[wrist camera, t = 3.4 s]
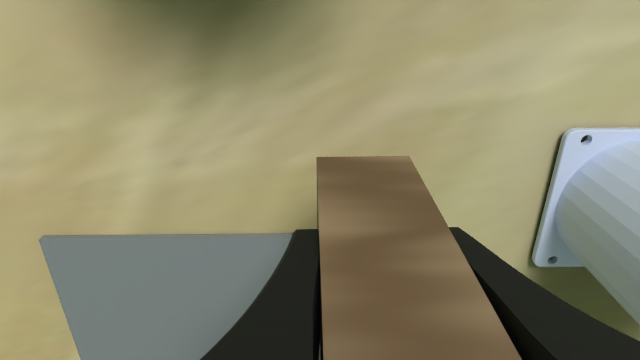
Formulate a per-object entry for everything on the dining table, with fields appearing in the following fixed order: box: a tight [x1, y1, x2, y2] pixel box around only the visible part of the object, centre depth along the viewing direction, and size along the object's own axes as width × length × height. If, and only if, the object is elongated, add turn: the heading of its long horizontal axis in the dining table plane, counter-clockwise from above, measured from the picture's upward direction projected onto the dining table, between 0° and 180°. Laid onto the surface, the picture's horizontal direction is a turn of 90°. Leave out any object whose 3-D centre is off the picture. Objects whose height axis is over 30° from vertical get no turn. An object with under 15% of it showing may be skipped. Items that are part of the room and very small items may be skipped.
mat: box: [39, 233, 321, 360], centre depth 26 cm, size 22×16×1 cm
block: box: [317, 156, 522, 360], centre depth 10 cm, size 3×3×9 cm
